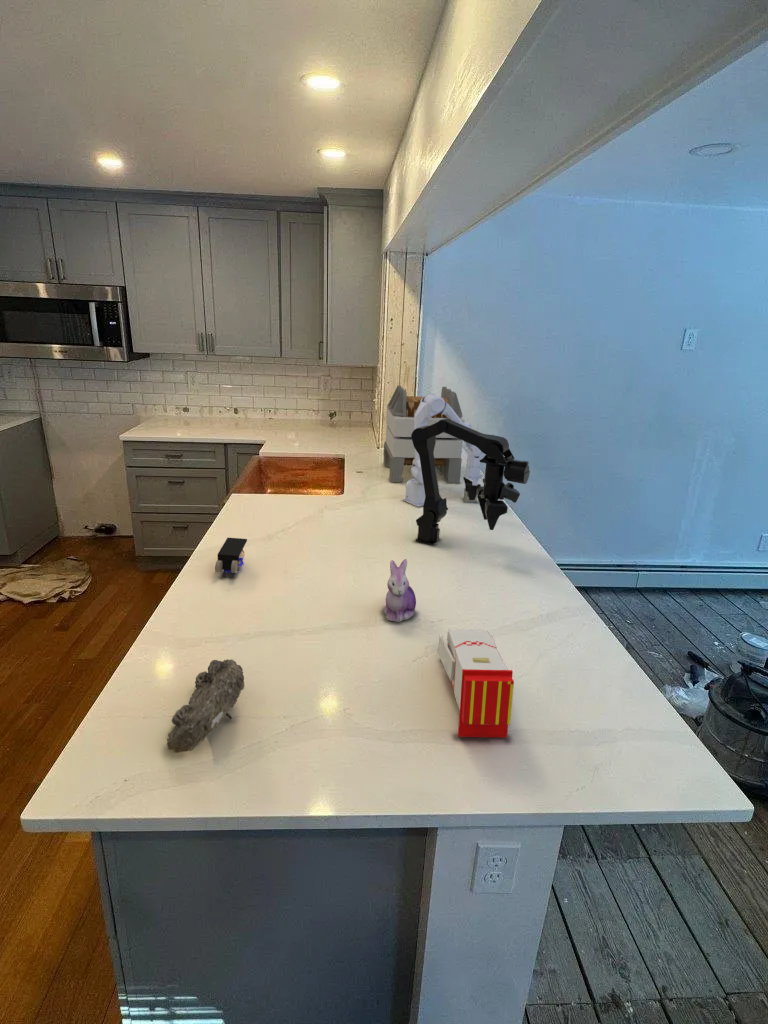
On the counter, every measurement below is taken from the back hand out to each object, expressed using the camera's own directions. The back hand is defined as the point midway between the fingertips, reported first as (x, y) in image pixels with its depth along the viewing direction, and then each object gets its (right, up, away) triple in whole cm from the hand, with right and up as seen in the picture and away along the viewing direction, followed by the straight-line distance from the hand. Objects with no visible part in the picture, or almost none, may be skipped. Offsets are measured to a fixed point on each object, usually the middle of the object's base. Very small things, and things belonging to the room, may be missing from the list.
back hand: (470, 496), depth 238 cm
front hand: (-3, -10, -56) cm, 57 cm away
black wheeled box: (-81, -23, -70) cm, 110 cm away
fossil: (-69, -45, -130) cm, 154 cm away
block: (0, -2, +1) cm, 2 cm away
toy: (-18, -44, -119) cm, 128 cm away
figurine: (-32, -33, -90) cm, 101 cm away
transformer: (-19, +13, +37) cm, 44 cm away
